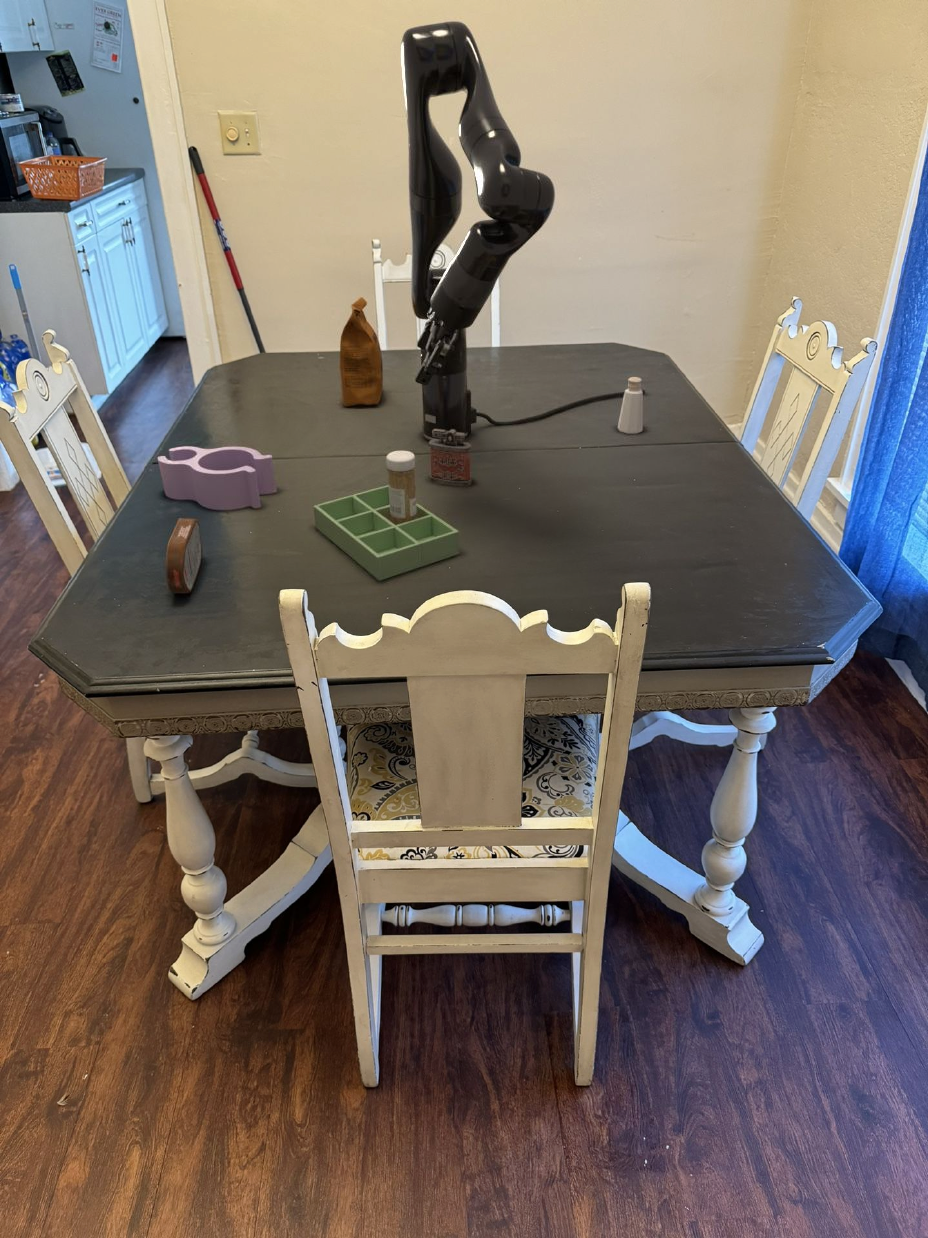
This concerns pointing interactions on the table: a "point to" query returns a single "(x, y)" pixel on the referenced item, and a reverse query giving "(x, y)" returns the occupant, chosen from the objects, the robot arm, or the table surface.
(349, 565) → the table surface
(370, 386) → the coffee package
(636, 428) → the pepper shaker
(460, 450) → the lighter
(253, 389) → the table surface
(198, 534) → the tin
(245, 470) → the clip
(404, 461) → the sprinkles bottle
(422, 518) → the organizer
